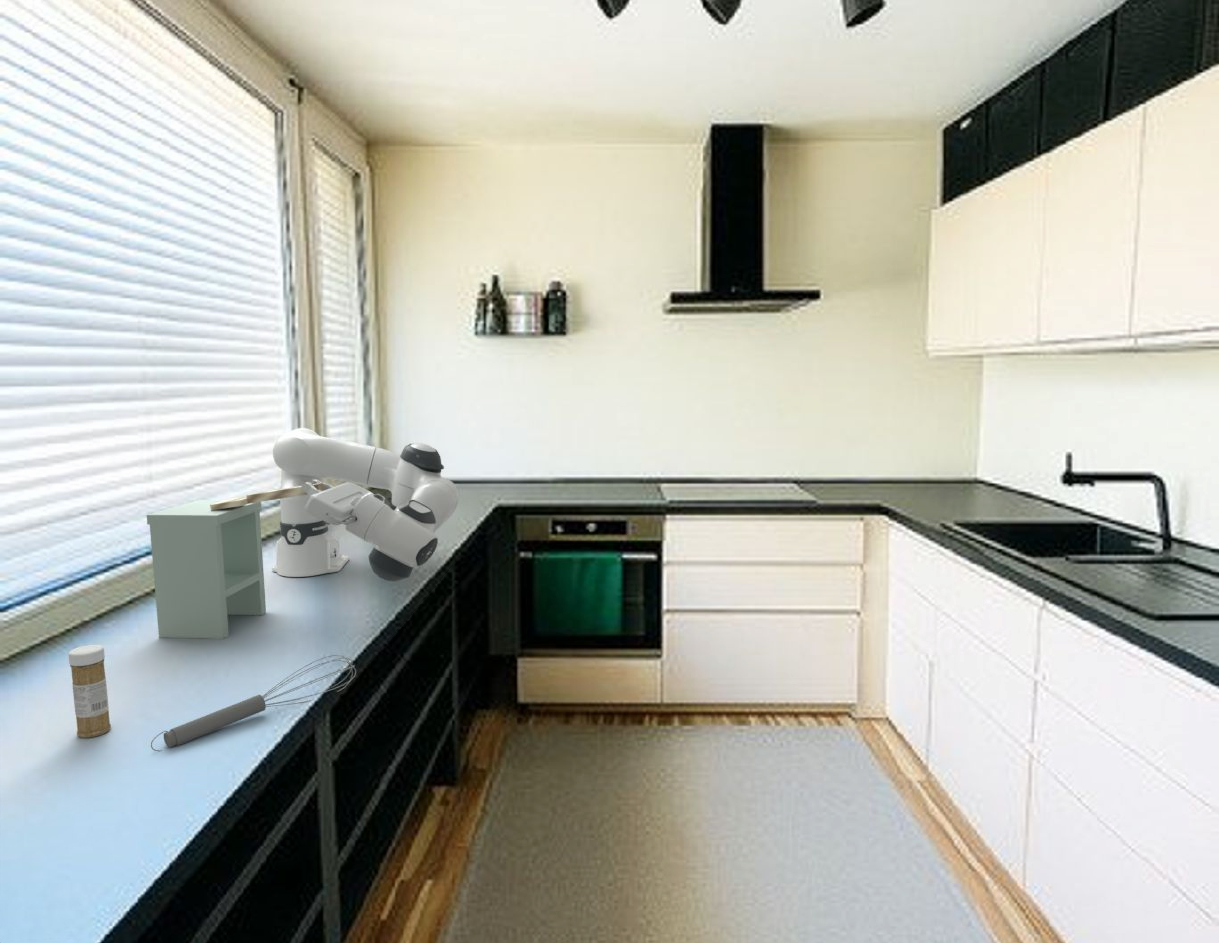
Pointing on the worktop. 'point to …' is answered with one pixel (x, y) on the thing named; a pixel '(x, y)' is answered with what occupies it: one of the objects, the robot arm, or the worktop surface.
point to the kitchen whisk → (235, 712)
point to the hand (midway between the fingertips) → (307, 483)
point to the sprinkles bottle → (90, 690)
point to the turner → (263, 497)
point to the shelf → (206, 567)
